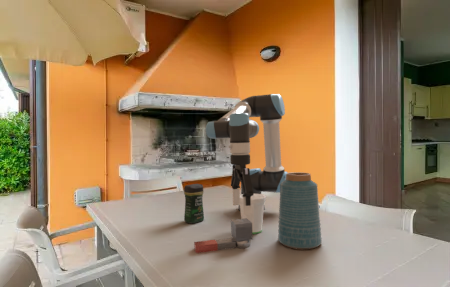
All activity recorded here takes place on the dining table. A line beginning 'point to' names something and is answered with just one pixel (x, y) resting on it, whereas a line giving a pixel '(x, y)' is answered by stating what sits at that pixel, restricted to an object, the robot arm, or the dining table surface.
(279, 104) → the robot arm
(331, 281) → the dining table surface
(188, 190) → the coffee jar
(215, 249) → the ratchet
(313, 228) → the vase
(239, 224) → the grey wooden cube
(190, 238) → the dining table surface
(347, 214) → the dining table surface
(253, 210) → the cup
